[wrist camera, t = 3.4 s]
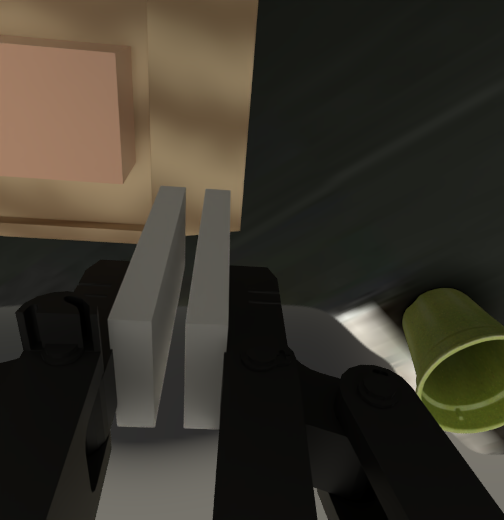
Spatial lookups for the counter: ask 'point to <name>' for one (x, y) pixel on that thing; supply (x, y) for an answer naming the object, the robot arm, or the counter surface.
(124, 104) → the salmon pink box
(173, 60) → the oak riser
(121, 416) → the robot arm
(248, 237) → the counter surface
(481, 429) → the plant pot
